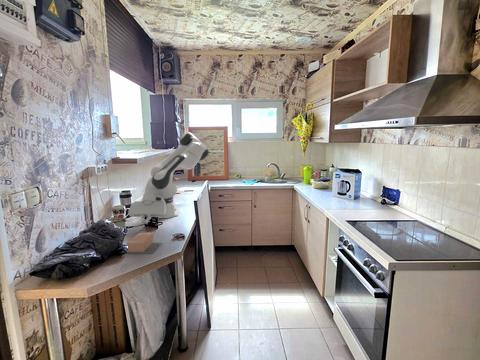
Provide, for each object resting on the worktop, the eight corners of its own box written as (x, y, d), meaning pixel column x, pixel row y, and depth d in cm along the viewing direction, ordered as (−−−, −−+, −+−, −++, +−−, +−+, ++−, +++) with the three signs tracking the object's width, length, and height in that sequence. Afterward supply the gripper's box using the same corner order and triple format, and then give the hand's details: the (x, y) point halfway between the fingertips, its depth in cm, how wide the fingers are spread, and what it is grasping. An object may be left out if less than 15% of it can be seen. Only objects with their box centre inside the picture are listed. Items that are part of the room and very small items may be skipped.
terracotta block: (139, 232, 143) (127, 242, 130) (153, 232, 143) (143, 242, 129) (139, 241, 144) (128, 252, 130) (153, 241, 144) (143, 252, 130)
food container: (122, 232, 161) (121, 216, 159) (127, 234, 157) (126, 218, 155) (101, 237, 151) (100, 221, 150) (106, 240, 148) (104, 223, 146)
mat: (129, 243, 143) (129, 242, 143) (162, 243, 142) (162, 242, 142) (116, 253, 129) (116, 253, 129) (152, 253, 128) (152, 253, 128)
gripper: (130, 198, 147) (123, 220, 139) (165, 198, 146) (161, 220, 138) (134, 204, 152) (127, 225, 144) (168, 204, 151) (164, 225, 143)
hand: (144, 223), depth 141 cm, fingers closed
